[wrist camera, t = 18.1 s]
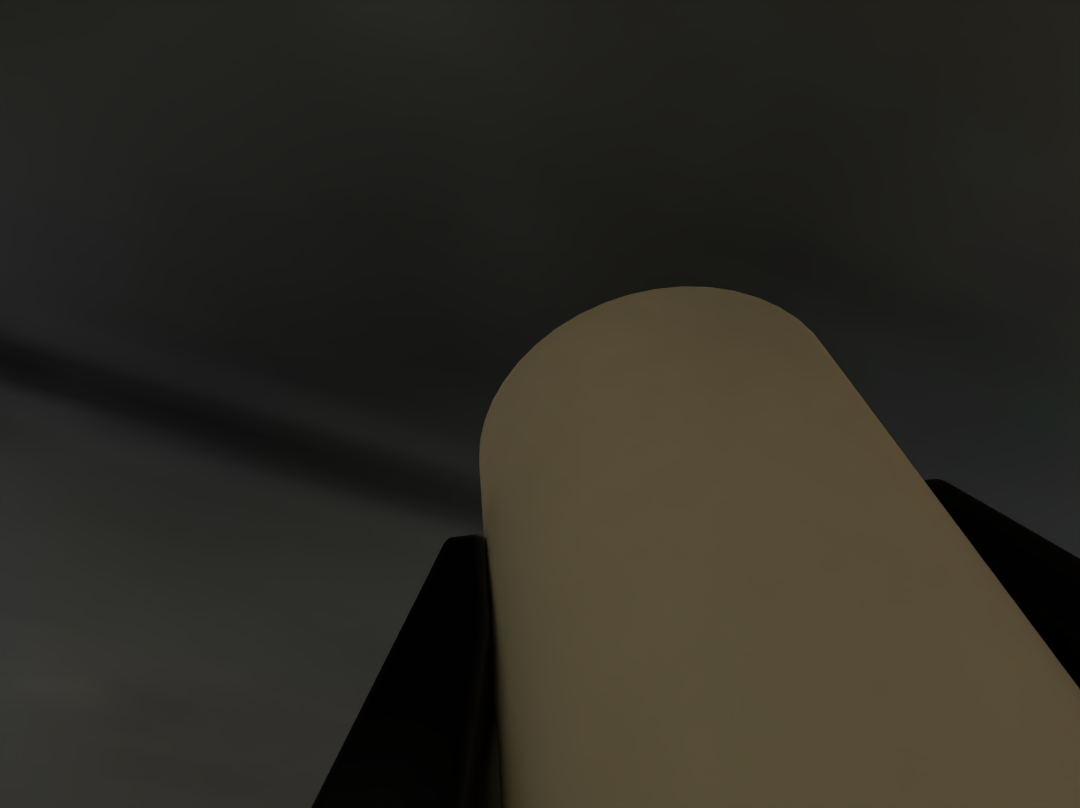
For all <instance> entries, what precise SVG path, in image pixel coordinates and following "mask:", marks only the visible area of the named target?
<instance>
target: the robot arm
mask: <svg viewBox="0 0 1080 808" xmlns="http://www.w3.org/2000/svg"><path fill="white" fill-rule="evenodd" d="M924 481H925V483H926V484H927V485H928V487H929V488H930V489H931V491H932V492H933V493H934V495H935V496H936V497H937V499H938V500H939V501H940V503H941V504H942V505H943V507H944V508H945V509H946V511H947V512H948V513H949V515H950V516H951V517H952V519H953V520H954V521H955V523H956V524H957V525H958V527H959V528H960V529H961V531H962V532H963V533H964V535H965V536H966V537H967V539H968V540H969V541H970V543H971V544H972V545H973V547H974V548H975V550H976V551H977V552H978V554H979V555H980V556H981V558H982V559H983V560H984V562H985V563H986V564H987V566H988V567H989V568H990V570H991V571H992V572H993V574H994V575H995V576H996V578H997V579H998V580H999V582H1000V583H1001V584H1002V586H1003V587H1004V588H1005V590H1006V591H1007V592H1008V594H1009V595H1010V596H1011V598H1012V599H1013V600H1014V602H1015V603H1016V604H1017V606H1018V607H1019V608H1020V610H1021V611H1022V612H1023V614H1024V615H1025V616H1026V618H1027V619H1028V620H1029V622H1030V623H1031V624H1032V626H1033V627H1034V628H1035V630H1036V631H1037V632H1038V634H1039V635H1040V637H1041V638H1042V639H1043V641H1044V642H1045V643H1046V645H1047V646H1048V647H1049V649H1050V650H1051V651H1052V653H1053V654H1054V655H1055V657H1056V658H1057V659H1058V661H1059V662H1060V663H1061V665H1062V666H1063V667H1064V669H1065V670H1066V671H1067V673H1068V674H1069V675H1070V677H1071V678H1072V679H1073V681H1074V682H1075V683H1076V685H1077V686H1078V687H1079V689H1080V559H1079V558H1078V557H1076V556H1074V555H1072V554H1071V553H1069V552H1067V551H1066V550H1064V549H1062V548H1060V547H1059V546H1057V545H1055V544H1053V543H1052V542H1050V541H1048V540H1046V539H1045V538H1043V537H1041V536H1040V535H1038V534H1036V533H1034V532H1033V531H1031V530H1029V529H1027V528H1026V527H1024V526H1022V525H1020V524H1019V523H1017V522H1015V521H1014V520H1012V519H1010V518H1008V517H1007V516H1005V515H1003V514H1001V513H1000V512H998V511H996V510H994V509H993V508H991V507H989V506H988V505H986V504H984V503H982V502H981V501H979V500H977V499H975V498H974V497H972V496H970V495H968V494H967V493H965V492H963V491H962V490H960V489H958V488H956V487H955V486H953V485H951V484H949V483H948V482H945V481H943V480H940V479H929V480H924ZM311 808H501V792H500V777H499V761H498V746H497V730H496V715H495V699H494V684H493V648H492V628H491V613H490V598H489V583H488V567H487V552H486V540H485V538H484V537H483V536H482V535H480V534H475V535H467V536H458V537H451V538H449V539H448V540H446V542H445V543H444V545H443V546H442V548H441V550H440V552H439V554H438V556H437V558H436V560H435V562H434V564H433V566H432V568H431V570H430V572H429V574H428V576H427V578H426V580H425V582H424V584H423V586H422V588H421V590H420V592H419V594H418V596H417V598H416V600H415V602H414V604H413V606H412V608H411V610H410V612H409V614H408V616H407V618H406V620H405V622H404V624H403V626H402V628H401V630H400V632H399V634H398V636H397V638H396V640H395V642H394V644H393V646H392V648H391V650H390V652H389V654H388V656H387V658H386V660H385V662H384V664H383V666H382V668H381V670H380V672H379V674H378V676H377V678H376V680H375V682H374V684H373V686H372V688H371V690H370V692H369V694H368V696H367V698H366V700H365V702H364V704H363V706H362V708H361V710H360V712H359V714H358V716H357V718H356V720H355V722H354V724H353V726H352V728H351V730H350V732H349V734H348V736H347V738H346V740H345V742H344V744H343V746H342V748H341V750H340V752H339V754H338V756H337V758H336V760H335V762H334V764H333V765H332V767H331V769H330V771H329V773H328V775H327V777H326V779H325V781H324V783H323V785H322V787H321V789H320V791H319V793H318V795H317V797H316V799H315V801H314V803H313V805H312V807H311Z"/></svg>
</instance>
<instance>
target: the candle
mask: <svg viewBox="0 0 1080 808" xmlns="http://www.w3.org/2000/svg"><path fill="white" fill-rule="evenodd" d="M479 466H480V481H481V497H482V513H483V528H484V538H485V540H486V552H487V567H488V583H489V598H490V613H491V628H492V648H493V684H494V699H495V715H496V730H497V746H498V761H499V777H500V792H501V808H1080V689H1079V687H1078V686H1077V685H1076V683H1075V682H1074V681H1073V679H1072V678H1071V677H1070V675H1069V674H1068V673H1067V671H1066V670H1065V669H1064V667H1063V666H1062V665H1061V663H1060V662H1059V661H1058V659H1057V658H1056V657H1055V655H1054V654H1053V653H1052V651H1051V650H1050V649H1049V647H1048V646H1047V645H1046V643H1045V642H1044V641H1043V639H1042V638H1041V637H1040V635H1039V634H1038V632H1037V631H1036V630H1035V628H1034V627H1033V626H1032V624H1031V623H1030V622H1029V620H1028V619H1027V618H1026V616H1025V615H1024V614H1023V612H1022V611H1021V610H1020V608H1019V607H1018V606H1017V604H1016V603H1015V602H1014V600H1013V599H1012V598H1011V596H1010V595H1009V594H1008V592H1007V591H1006V590H1005V588H1004V587H1003V586H1002V584H1001V583H1000V582H999V580H998V579H997V578H996V576H995V575H994V574H993V572H992V571H991V570H990V568H989V567H988V566H987V564H986V563H985V562H984V560H983V559H982V558H981V556H980V555H979V554H978V552H977V551H976V550H975V548H974V547H973V545H972V544H971V543H970V541H969V540H968V539H967V537H966V536H965V535H964V533H963V532H962V531H961V529H960V528H959V527H958V525H957V524H956V523H955V521H954V520H953V519H952V517H951V516H950V515H949V513H948V512H947V511H946V509H945V508H944V507H943V505H942V504H941V503H940V501H939V500H938V499H937V497H936V496H935V495H934V493H933V492H932V491H931V489H930V488H929V487H928V485H927V484H926V483H925V481H924V480H923V479H922V477H921V476H920V475H919V473H918V472H917V471H916V469H915V468H914V467H913V465H912V464H911V463H910V461H909V460H908V458H907V457H906V456H905V454H904V453H903V452H902V450H901V449H900V448H899V446H898V445H897V444H896V442H895V441H894V440H893V438H892V437H891V436H890V434H889V433H888V432H887V430H886V429H885V428H884V426H883V425H882V424H881V422H880V421H879V420H878V418H877V417H876V416H875V414H874V413H873V412H872V410H871V409H870V408H869V406H868V405H867V404H866V402H865V401H864V400H863V398H862V397H861V396H860V394H859V393H858V392H857V390H856V389H855V388H854V386H853V385H852V384H851V382H850V381H849V380H848V378H847V377H846V376H845V374H844V373H843V371H842V370H841V369H840V367H839V366H838V365H837V363H836V362H835V361H834V359H833V358H832V357H831V355H830V354H829V353H828V351H827V350H826V349H825V347H824V346H823V345H822V344H821V342H820V341H819V340H818V338H817V337H816V336H815V334H814V333H813V332H812V331H811V330H809V329H808V328H807V327H806V326H805V325H804V324H803V323H802V322H801V321H800V320H799V319H797V318H796V317H794V316H792V315H791V314H789V313H788V312H786V311H785V310H783V309H782V308H780V307H778V306H776V305H774V304H771V303H769V302H767V301H765V300H763V299H760V298H758V297H754V296H751V295H747V294H744V293H740V292H737V291H733V290H726V289H719V288H713V287H693V286H679V287H669V288H659V289H652V290H648V291H643V292H638V293H634V294H629V295H626V296H623V297H620V298H617V299H614V300H611V301H608V302H605V303H602V304H600V305H598V306H596V307H594V308H592V309H590V310H587V311H585V312H583V313H581V314H579V315H577V316H575V317H574V318H572V319H571V320H569V321H567V322H566V323H564V324H562V325H561V326H559V327H558V328H556V329H555V330H553V331H552V332H551V333H550V334H548V335H547V336H546V337H545V338H543V339H542V340H541V341H539V342H538V343H537V344H536V345H535V346H534V347H533V348H532V349H531V350H530V351H529V352H528V353H527V354H526V355H525V356H524V357H523V358H522V359H521V360H520V361H519V362H518V363H517V364H516V366H515V367H514V368H513V370H512V371H511V372H510V374H509V375H508V376H507V378H506V379H505V380H504V382H503V383H502V385H501V387H500V388H499V390H498V392H497V394H496V396H495V397H494V399H493V401H492V403H491V405H490V408H489V411H488V413H487V416H486V419H485V421H484V425H483V430H482V435H481V439H480V453H479Z"/></svg>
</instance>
